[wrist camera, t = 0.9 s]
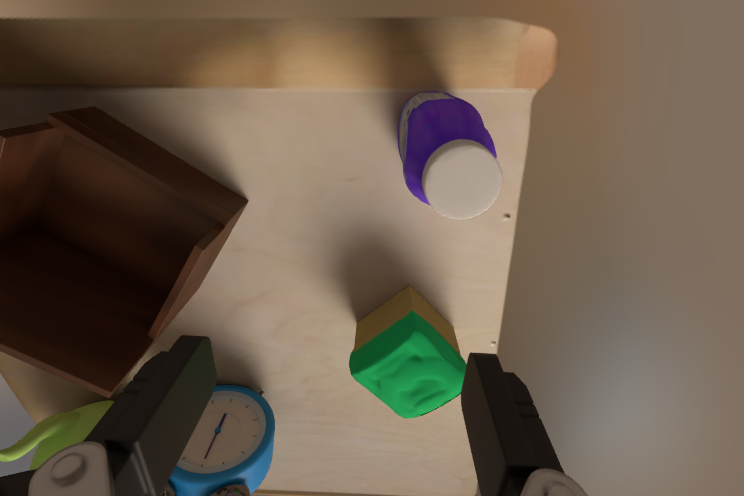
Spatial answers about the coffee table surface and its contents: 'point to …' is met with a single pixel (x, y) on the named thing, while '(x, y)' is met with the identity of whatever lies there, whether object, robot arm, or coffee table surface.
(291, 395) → the coffee table surface
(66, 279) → the box
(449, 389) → the cake
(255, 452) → the alarm clock
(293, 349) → the coffee table surface
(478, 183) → the bottle
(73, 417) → the teapot
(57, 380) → the coffee table surface
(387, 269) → the coffee table surface
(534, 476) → the robot arm
